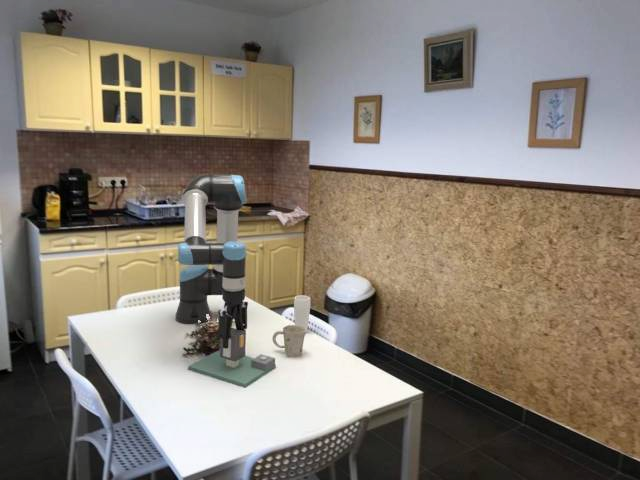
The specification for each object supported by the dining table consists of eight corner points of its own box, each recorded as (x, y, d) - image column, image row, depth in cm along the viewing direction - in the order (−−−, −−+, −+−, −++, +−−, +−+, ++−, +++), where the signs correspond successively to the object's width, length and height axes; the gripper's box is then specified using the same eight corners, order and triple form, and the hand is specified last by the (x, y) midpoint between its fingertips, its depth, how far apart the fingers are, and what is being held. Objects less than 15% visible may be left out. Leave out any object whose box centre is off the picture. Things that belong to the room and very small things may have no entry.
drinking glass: (308, 335, 213) (310, 300, 210) (292, 334, 213) (293, 299, 210) (309, 329, 219) (311, 295, 217) (293, 328, 220) (294, 294, 217)
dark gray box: (219, 356, 177) (220, 332, 175) (229, 351, 182) (230, 327, 180) (236, 362, 174) (237, 336, 172) (246, 356, 179) (247, 331, 177)
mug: (301, 359, 189) (302, 333, 187) (268, 355, 191) (269, 329, 189) (306, 351, 197) (307, 326, 195) (274, 347, 199) (275, 322, 197)
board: (188, 369, 176) (188, 357, 176) (221, 352, 192) (221, 341, 191) (245, 387, 165) (245, 375, 165) (275, 367, 181) (276, 356, 180)
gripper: (225, 296, 164) (224, 365, 168) (258, 284, 180) (257, 347, 184) (206, 292, 167) (206, 360, 171) (241, 280, 183) (240, 342, 187)
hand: (232, 353), depth 178 cm, fingers closed on dark gray box, 6 cm apart
